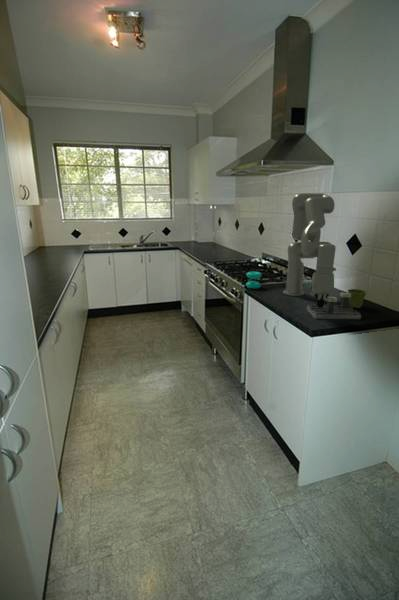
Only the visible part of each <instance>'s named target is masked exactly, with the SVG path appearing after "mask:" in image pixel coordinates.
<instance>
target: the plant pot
mask: <svg viewBox="0 0 399 600" xmlns="http://www.w3.org/2000/svg"><path fill="white" fill-rule="evenodd" d="M347 293H350V294H352V295H351V297H349V299H348V305H349V306H351V307H352V308H355V309H361V308H362V306H363V302H364V300H365V297H366V295H367V294H368V292H367V291H366V290H363V289H359V288H357V289H356V288H350V289H348V290H347Z"/></svg>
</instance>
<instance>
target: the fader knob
mask: <svg viewBox="0 0 399 600" xmlns="http://www.w3.org/2000/svg"><path fill="white" fill-rule="evenodd" d="M324 301H326V302H327V304H326V305H327V310H326V312H327V313H333V309H334V305H335V303H337V302H338V298H337V297H336V296H328V297H327V298H326V299H325V300H324Z"/></svg>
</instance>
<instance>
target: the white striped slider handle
mask: <svg viewBox="0 0 399 600" xmlns="http://www.w3.org/2000/svg"><path fill="white" fill-rule="evenodd" d="M351 295H352V294H350V293H348V292H339V297H341V302H340V305H341V308H347V306H348V305H349V297H351Z"/></svg>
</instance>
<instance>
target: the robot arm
mask: <svg viewBox="0 0 399 600" xmlns="http://www.w3.org/2000/svg"><path fill="white" fill-rule="evenodd" d="M291 203H292V204H291V205H292V212H293V222H292V230H291V231H292V233H291V237H292V239H293V240H296V241H297V242H291V243H289V245H288V247H287V272H286V274H287V275H286V284H285V289H284V290H283V291H282V293H283V294H284V295H287V296H292V297H301V296H302V297H303V296H304V295H305V292H304V291H303V282H304V273H305V265H304V263H303V261H302V259H315V258H316V267H315V272H313V274H312V276H311V280H310V284H309V291H310V293H309V295H310V296H312V297H315V298H316V305H317V306H318V307H319V308H323V306H324V305H325V301H326V300H325V299H326V298H327V297H333V295H334V291H335V290H334V289H335V274H334V272H336V271H337V268H336V267H334V264H335V258H336V257H335V256H336V245H335V244H333V243H331V242H329V241H320V240H321V234H322V233H321V231H322V230H321V229H322V228H323V227H324V226H325V225H326V220H325V214H326V215H327V214H328V215H329V214H331V213H333V212H334V210H335V206H336V205H335V200H334V198H333V197H331V196H330V195H328V194H326V193H319V192H318V193H314V192H313V193H311V192H308V193H303V192H302V193H298V194H297V193H296V194H295V195H294V196H293V198H292V202H291ZM298 241H299V242H298Z"/></svg>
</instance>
